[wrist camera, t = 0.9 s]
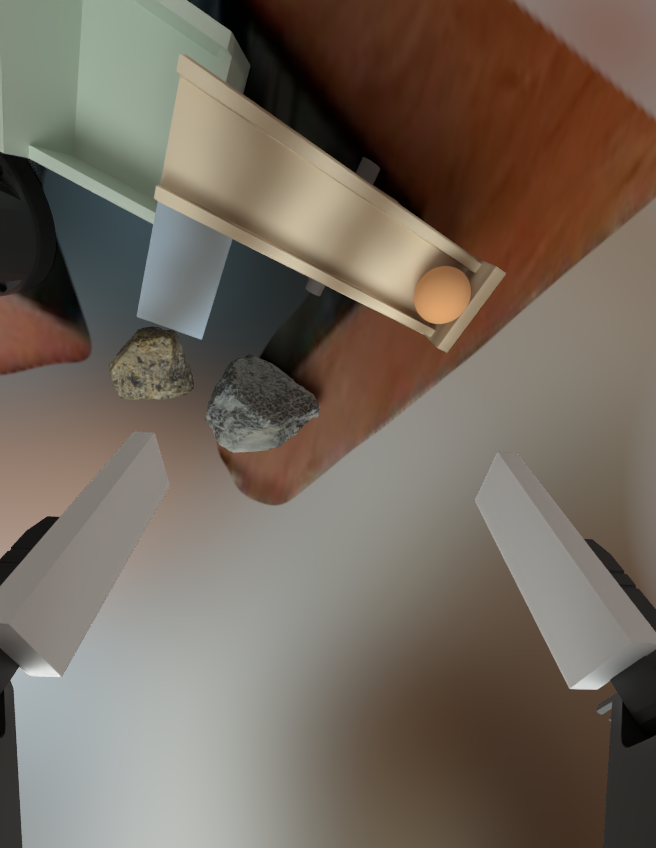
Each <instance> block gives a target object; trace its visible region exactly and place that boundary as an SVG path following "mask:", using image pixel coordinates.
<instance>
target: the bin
mask: <svg viewBox="0 0 656 848" xmlns="http://www.w3.org/2000/svg"><path fill="white" fill-rule="evenodd" d="M179 53H180V54H182V55H183V56H184V53H185V54H187V55H188V56H189V57H191V58H192V59H194V60H195V61H196V62H198V63H199V64H201V65H202V66H204V67H205V68H206V69H208V70H209V71H211V72H212V73H214V74H215V75H216V76H218V77H219V78H221V79H222V80H223V81H225V82H226V83H228V84H229V85H231V86H232V87H233V88H235V89H236V90H238V91H239V92H241V93H242V94H243V93H244V89H245V85H246V81H247V77H248V74H249V70H250V66H251V65H250V64H249V62H248V60H247V58H246V56H245V55H244V53H243V51H242V49H241V48H240V46H239V44H238V42H237V41H236V39H235V37H234V35H233V33H232V32H231V31H230V30H228V29H227V28H226V27H224V26H223V25H221V24H220V23H219V22H217V21H216V20H214V19H213V18H211V17H210V16H209V15H207V14H206V13H204V12H203V11H201V10H200V9H199V8H197V7H196V6H194V5H193V4H192V3H190V2H189V1H187V0H0V152H2V153H4V154H9V155H15V156H20V157H25V158H29V159H31V160H33V161H35V162H37V163H39V164H41V165H43V166H44V167H46V168H48V169H50V170H52V171H54V172H56V173H58V174H60V175H62V176H63V177H65V178H67V179H69V180H71V181H73V182H75V183H77V184H78V185H80V186H82V187H84V188H86V189H88V190H90V191H92V192H94V193H96V194H97V195H99V196H101V197H103V198H105V199H107V200H109V201H110V202H112V203H114V204H116V205H118V206H120V207H122V208H124V209H126V210H128V211H129V212H131V213H133V214H135V215H137V216H139V217H141V218H143V219H144V220H146V221H148V222H150V223H152V224H154V218H155V213H156V207H157V202H158V201H157V200H156V199H154V195H155V189H156V185H160V183H161V178H162V172H163V167H164V161H165V156H166V150H167V145H168V139H169V133H170V128H171V122H172V117H173V111H174V106H175V100H176V95H177V89H178V84H179V78H180V76H179V74H178V73H177V72H176V70H177V64H178V58H179Z"/></svg>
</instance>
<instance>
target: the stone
mask: <svg viewBox="0 0 656 848" xmlns="http://www.w3.org/2000/svg"><path fill="white" fill-rule="evenodd" d="M318 414H319V404H318V401H317V400H316V399H315V396H314V395H313V394H312V393H310V392H309V391H307V390H305V388H304V387H302V386H300V385H298V384H296V383H295V382H294V380H293V379H292V378H290V377H289V376H288V375H287V374H286V373H284V372H283V371H281V370H280V369H279V368H278V367H276V366H275V365H273V364H272V363H270V362H267V361H265V360H262V359H260V358H258V357H255V356H253V355H247V356H246V357H245V358H239V359H237V360H235V361H233V362H231V363H230V365H229V366H228V368H227V369H226V371H225V373H224V375H223V378H222V379H221V380H220V381H219V382H218V383H217V385H216V386H215V389H214V391H213V393H212V396H211V398H210V400H209V404H208V410H207V413H206V419H205V420H206V421H207V422H208V424H209V425H210V427H211V428H213V432H214V435H215V438H216V440H217V441H218V443H219V445H221V446H223V447H225V448H226V449H227V450H230V451H232V452H253V451H263V450H270V449H272V448H275V447H279V446H280V445H283V444H284V443H285V442H286V441H287V440H289V439H290V438H291V437H293V436H296V434H297V433H298V432H299V431H300V429H301V428H302V427H303V426H304V424H306V423H307V422H308V421H309V419H311V418H313V417H318Z"/></svg>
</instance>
